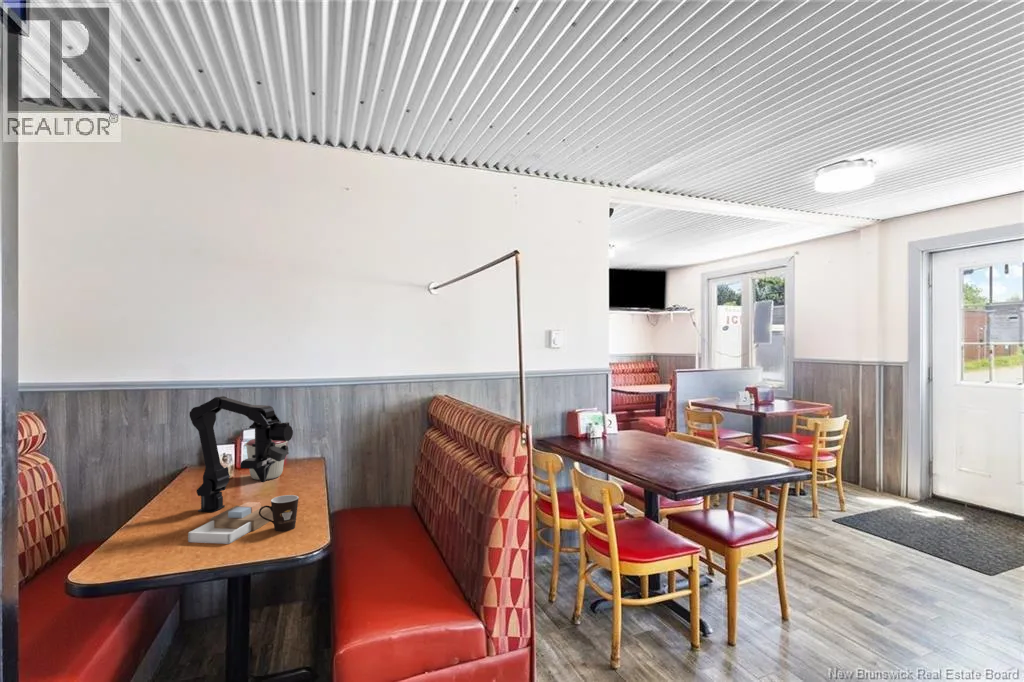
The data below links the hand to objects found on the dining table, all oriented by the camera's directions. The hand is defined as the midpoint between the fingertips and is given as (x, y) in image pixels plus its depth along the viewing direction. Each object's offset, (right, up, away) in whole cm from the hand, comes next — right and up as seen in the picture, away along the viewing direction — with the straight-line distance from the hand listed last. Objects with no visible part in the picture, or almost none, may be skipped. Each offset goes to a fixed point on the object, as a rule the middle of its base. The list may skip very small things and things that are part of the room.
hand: (263, 482), depth 188 cm
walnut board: (-1, -11, -11) cm, 16 cm away
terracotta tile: (-1, -8, -8) cm, 11 cm away
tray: (-2, -11, -23) cm, 26 cm away
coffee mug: (+14, -11, -17) cm, 24 cm away
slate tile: (-1, -8, -14) cm, 16 cm away
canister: (-22, -12, +49) cm, 55 cm away
